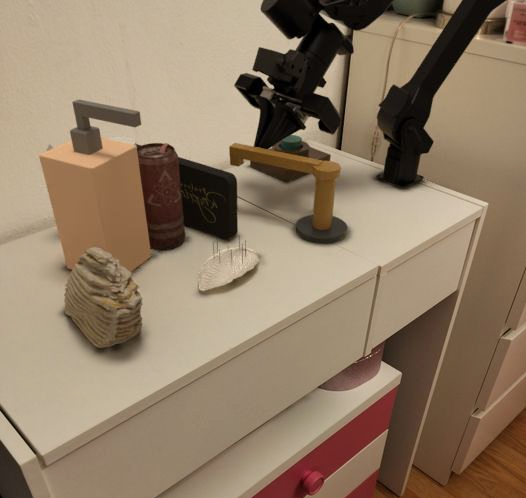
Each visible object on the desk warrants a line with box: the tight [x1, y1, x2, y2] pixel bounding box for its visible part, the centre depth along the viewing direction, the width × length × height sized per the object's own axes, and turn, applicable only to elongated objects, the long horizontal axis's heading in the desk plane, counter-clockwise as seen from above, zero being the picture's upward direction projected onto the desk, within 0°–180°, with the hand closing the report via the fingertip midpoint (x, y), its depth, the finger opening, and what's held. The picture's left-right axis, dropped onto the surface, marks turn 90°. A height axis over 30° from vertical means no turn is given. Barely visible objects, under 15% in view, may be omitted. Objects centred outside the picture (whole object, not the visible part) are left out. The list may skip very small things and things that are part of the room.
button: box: [280, 134, 303, 150], centre depth 104 cm, size 4×4×2 cm
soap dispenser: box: [38, 99, 152, 273], centre depth 71 cm, size 13×9×22 cm
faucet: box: [295, 178, 348, 245], centre depth 84 cm, size 8×8×9 cm
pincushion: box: [198, 234, 260, 292], centre depth 75 cm, size 12×6×6 cm, turn 144°
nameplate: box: [136, 143, 239, 241], centre depth 86 cm, size 21×2×10 cm, turn 56°
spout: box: [228, 142, 342, 180], centre depth 83 cm, size 18×4×3 cm, turn 62°
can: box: [137, 142, 186, 250], centre depth 80 cm, size 6×6×14 cm
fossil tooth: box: [63, 247, 143, 349], centre depth 64 cm, size 12×6×15 cm
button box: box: [249, 140, 331, 183], centre depth 106 cm, size 12×10×4 cm
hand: (257, 150), depth 86 cm, fingers closed
